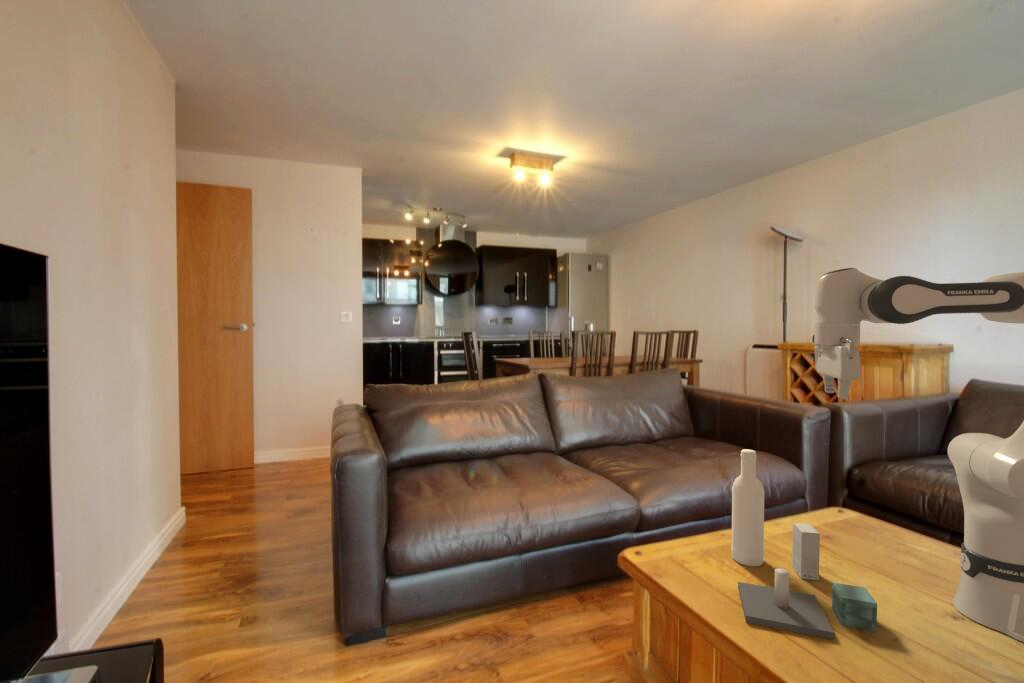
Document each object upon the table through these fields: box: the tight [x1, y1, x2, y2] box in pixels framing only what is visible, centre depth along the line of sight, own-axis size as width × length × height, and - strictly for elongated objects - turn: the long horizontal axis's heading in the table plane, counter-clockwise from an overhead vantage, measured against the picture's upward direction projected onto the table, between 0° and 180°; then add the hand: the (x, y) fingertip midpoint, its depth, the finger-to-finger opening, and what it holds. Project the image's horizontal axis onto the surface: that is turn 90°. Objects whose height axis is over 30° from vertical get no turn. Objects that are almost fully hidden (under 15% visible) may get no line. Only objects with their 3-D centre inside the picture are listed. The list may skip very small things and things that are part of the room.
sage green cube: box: [831, 582, 878, 632], centre depth 99 cm, size 6×6×6 cm
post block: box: [737, 567, 835, 641], centre depth 102 cm, size 16×14×9 cm
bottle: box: [730, 448, 765, 567], centre depth 125 cm, size 8×8×30 cm
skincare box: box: [791, 522, 821, 581], centre depth 117 cm, size 6×4×12 cm
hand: (835, 395), depth 109 cm, fingers open, 8 cm apart
